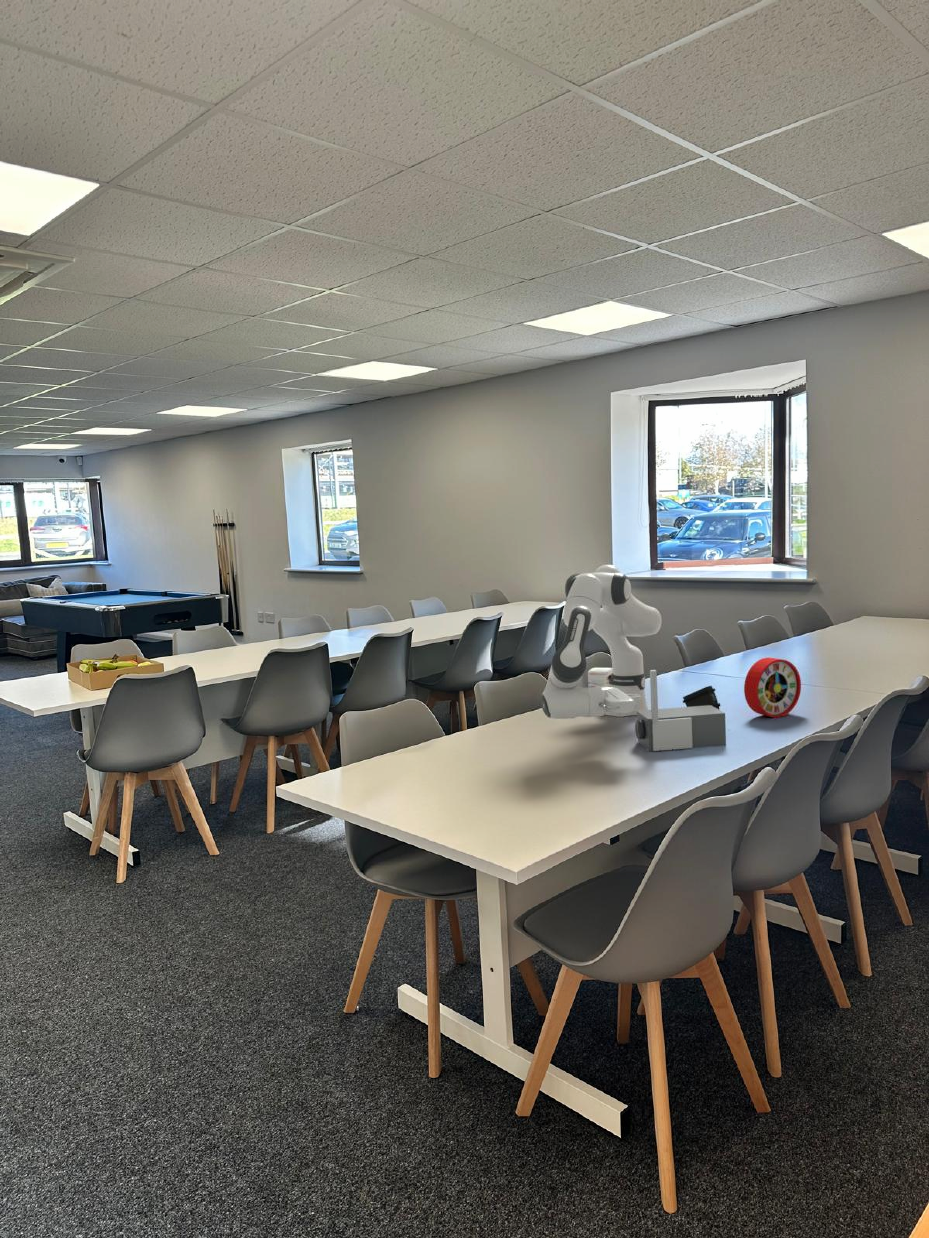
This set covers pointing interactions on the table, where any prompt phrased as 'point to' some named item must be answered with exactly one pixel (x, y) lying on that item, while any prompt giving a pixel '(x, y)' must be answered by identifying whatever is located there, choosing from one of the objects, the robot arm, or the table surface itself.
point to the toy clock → (772, 687)
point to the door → (668, 725)
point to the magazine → (702, 698)
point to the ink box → (599, 676)
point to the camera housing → (704, 725)
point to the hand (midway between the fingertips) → (641, 698)
